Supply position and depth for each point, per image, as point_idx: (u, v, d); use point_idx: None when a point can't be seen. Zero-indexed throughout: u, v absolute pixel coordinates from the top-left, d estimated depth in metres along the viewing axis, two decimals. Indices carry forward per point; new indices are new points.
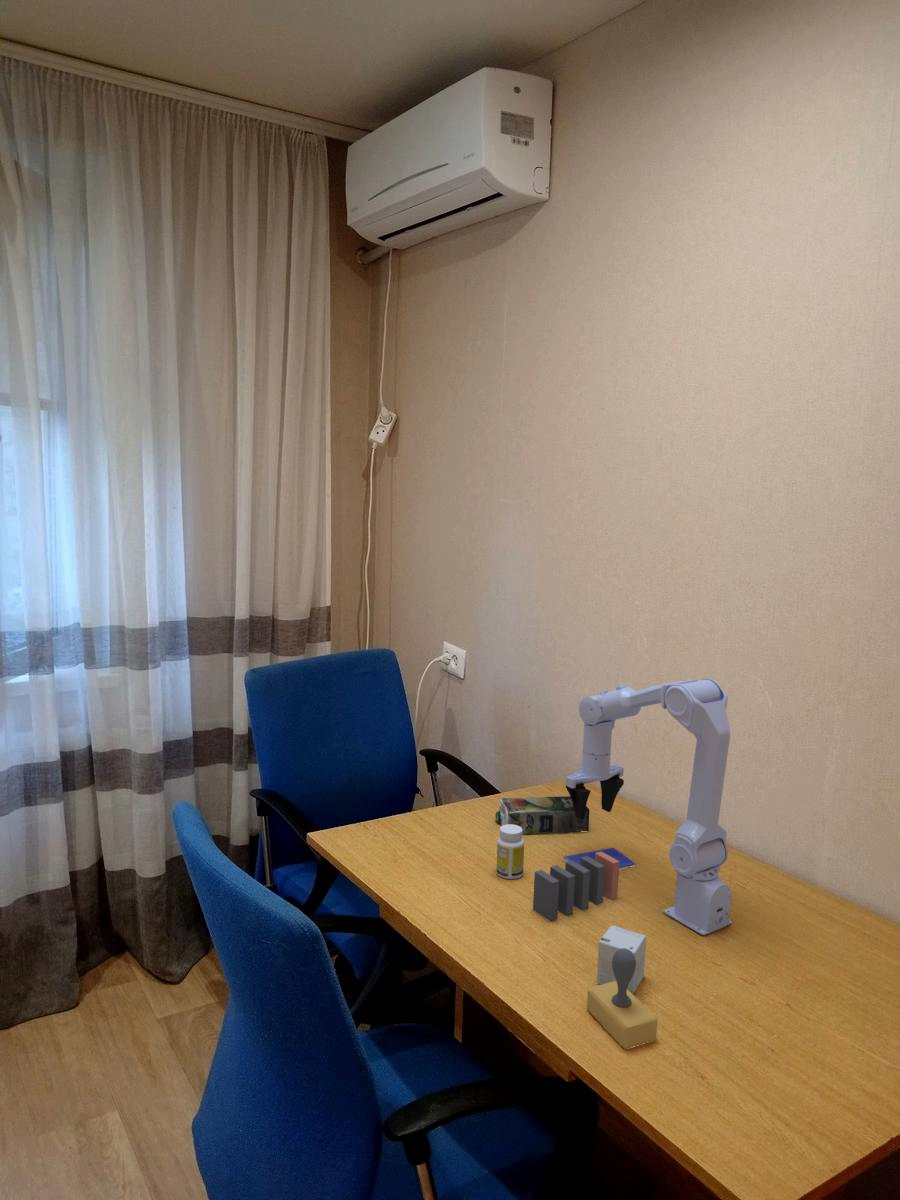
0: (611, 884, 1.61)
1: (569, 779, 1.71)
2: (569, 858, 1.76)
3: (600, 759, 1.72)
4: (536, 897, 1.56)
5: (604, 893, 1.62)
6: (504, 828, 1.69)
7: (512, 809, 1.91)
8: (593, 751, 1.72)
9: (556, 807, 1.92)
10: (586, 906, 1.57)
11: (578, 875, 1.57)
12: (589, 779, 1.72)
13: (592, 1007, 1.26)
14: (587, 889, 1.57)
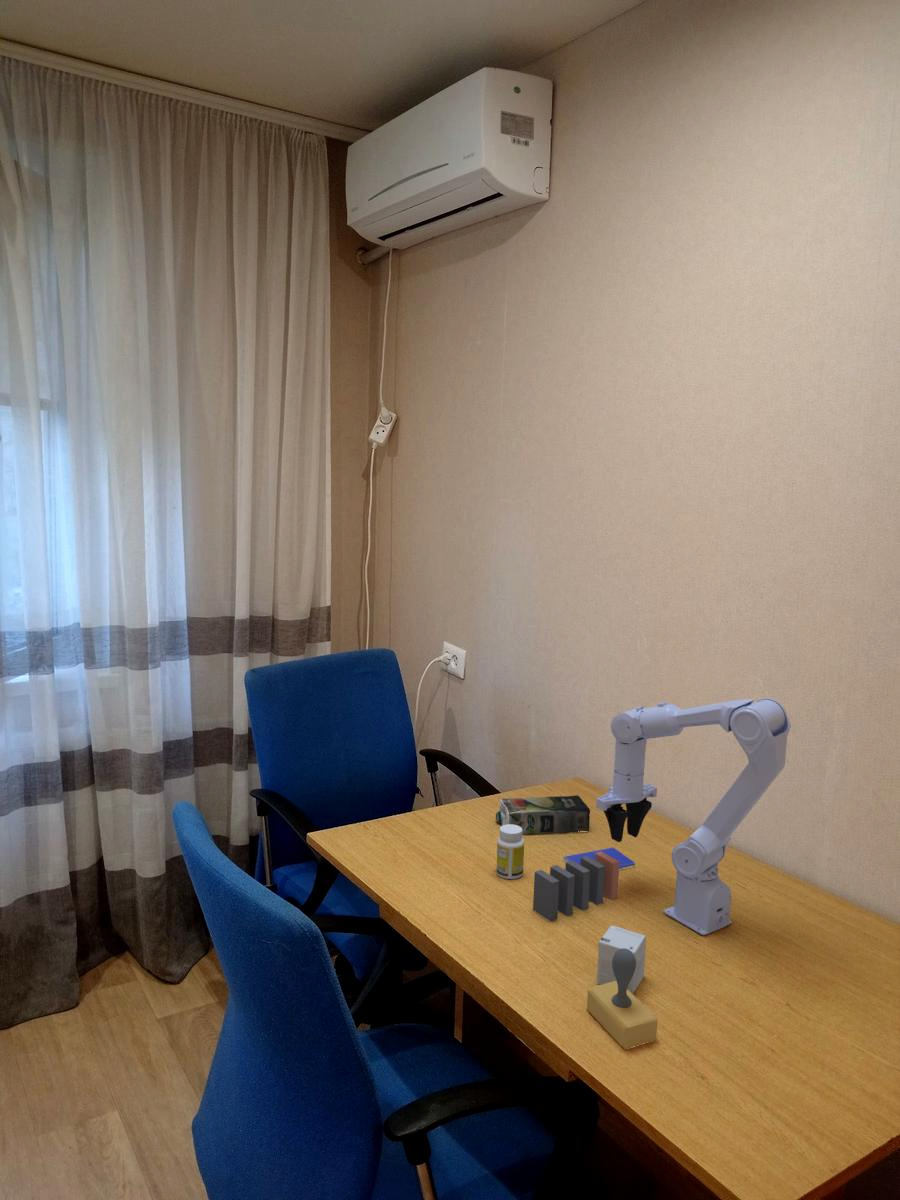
0: (611, 884, 1.61)
1: (600, 801, 1.59)
2: (569, 858, 1.76)
3: (633, 779, 1.60)
4: (536, 897, 1.56)
5: (604, 893, 1.62)
6: (504, 828, 1.69)
7: (513, 809, 1.90)
8: (629, 771, 1.60)
9: (557, 807, 1.92)
10: (586, 906, 1.57)
11: (578, 875, 1.57)
12: (621, 801, 1.60)
13: (592, 1007, 1.26)
14: (587, 889, 1.57)
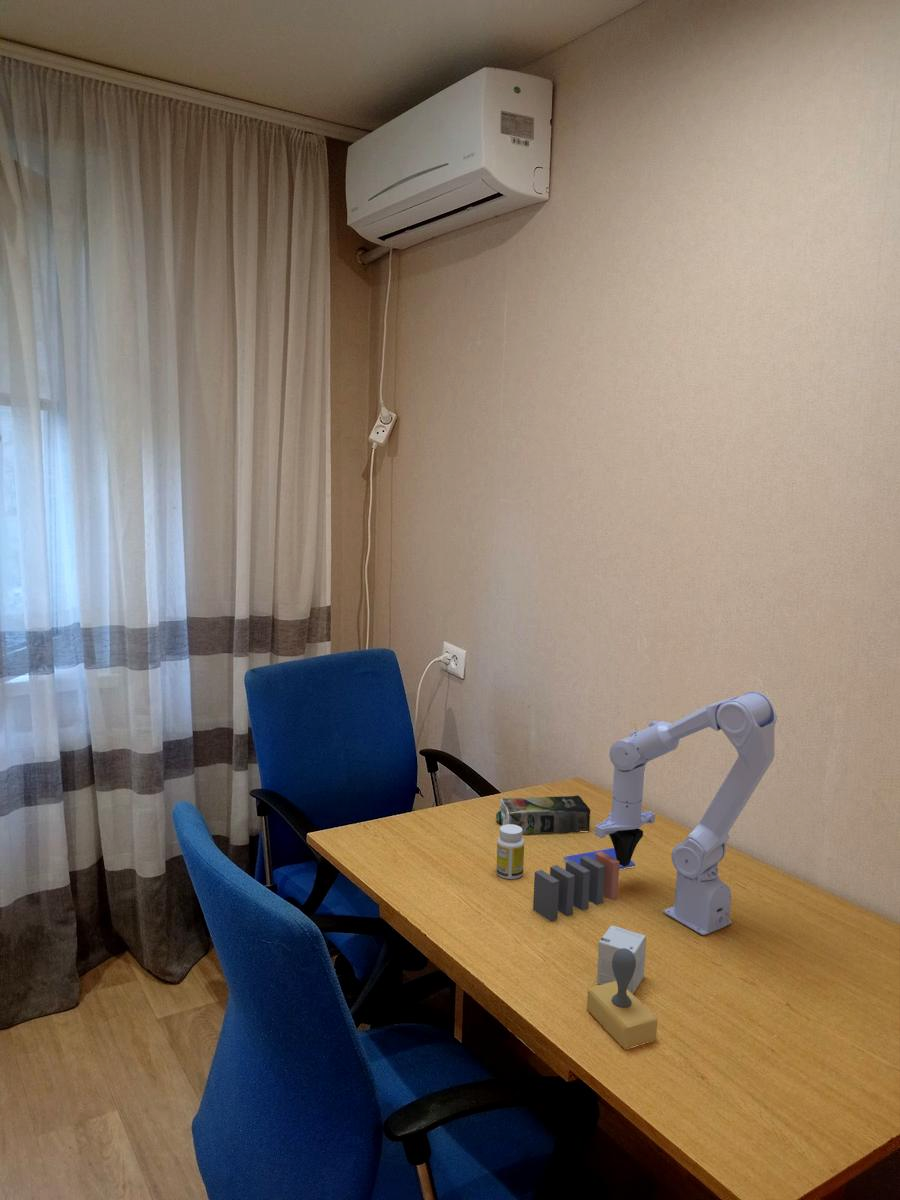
0: (611, 884, 1.61)
1: (598, 828, 1.60)
2: (569, 858, 1.76)
3: (631, 807, 1.61)
4: (536, 897, 1.56)
5: (604, 893, 1.62)
6: (504, 828, 1.69)
7: (513, 809, 1.91)
8: (627, 798, 1.60)
9: (557, 807, 1.92)
10: (586, 906, 1.57)
11: (578, 875, 1.57)
12: (620, 828, 1.60)
13: (592, 1007, 1.26)
14: (587, 889, 1.57)
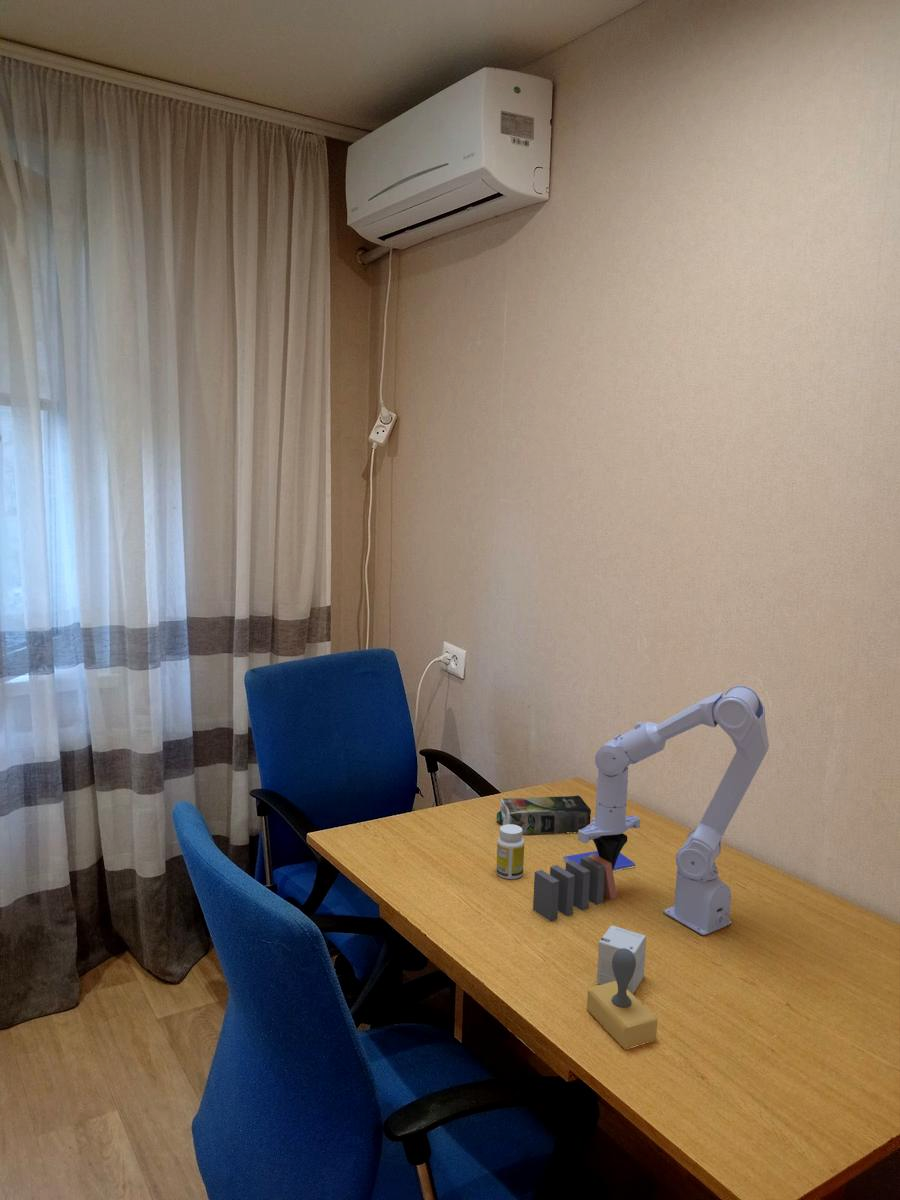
0: (608, 886, 1.60)
1: (581, 833, 1.58)
2: (569, 858, 1.76)
3: (615, 811, 1.58)
4: (536, 897, 1.56)
5: (603, 893, 1.62)
6: (504, 828, 1.69)
7: (513, 809, 1.90)
8: (615, 803, 1.58)
9: (557, 807, 1.92)
10: (586, 906, 1.57)
11: (578, 875, 1.57)
12: (603, 833, 1.58)
13: (592, 1007, 1.26)
14: (587, 889, 1.57)
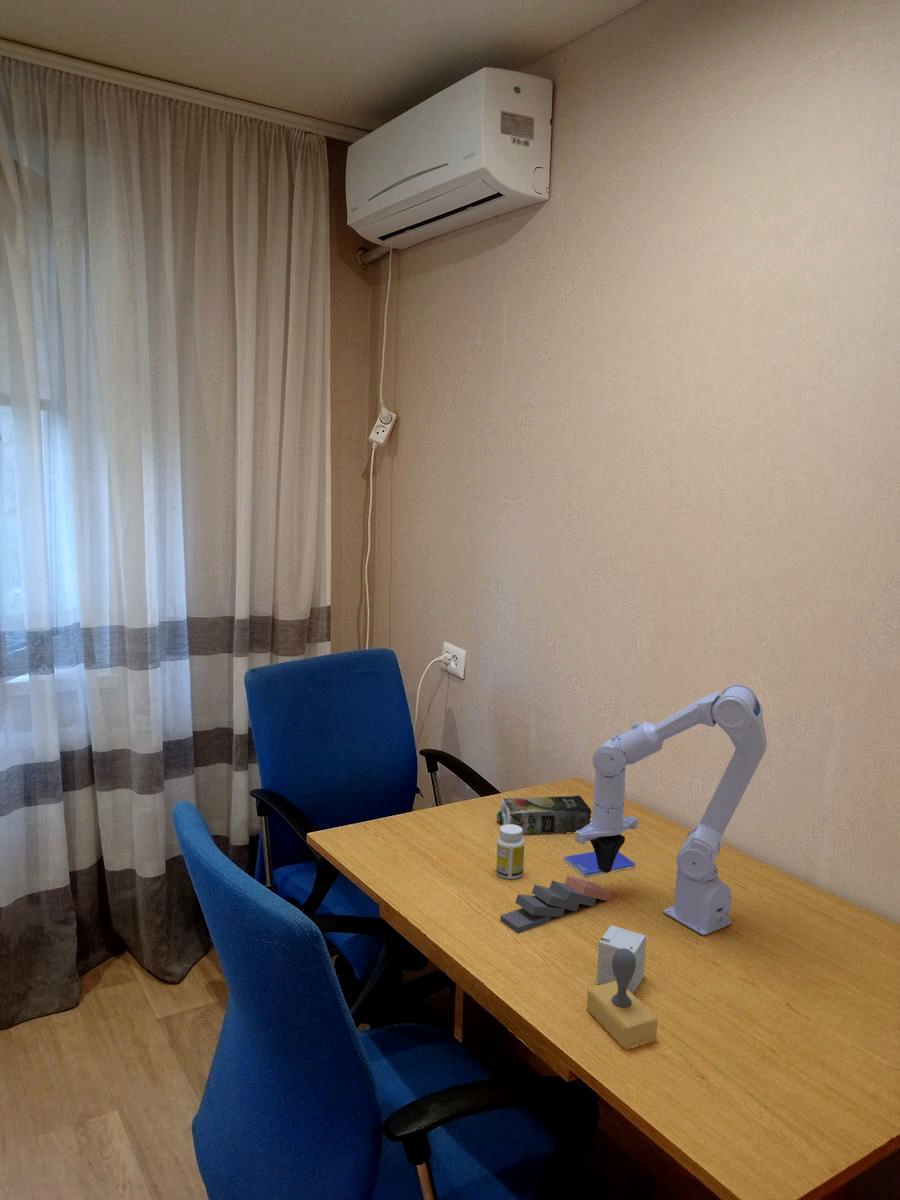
0: None
1: (579, 834, 1.57)
2: (569, 858, 1.76)
3: (613, 812, 1.58)
4: None
5: None
6: (504, 828, 1.69)
7: (514, 809, 1.91)
8: (613, 804, 1.58)
9: (558, 807, 1.92)
10: (576, 904, 1.56)
11: None
12: (601, 834, 1.58)
13: (592, 1007, 1.26)
14: (564, 901, 1.54)
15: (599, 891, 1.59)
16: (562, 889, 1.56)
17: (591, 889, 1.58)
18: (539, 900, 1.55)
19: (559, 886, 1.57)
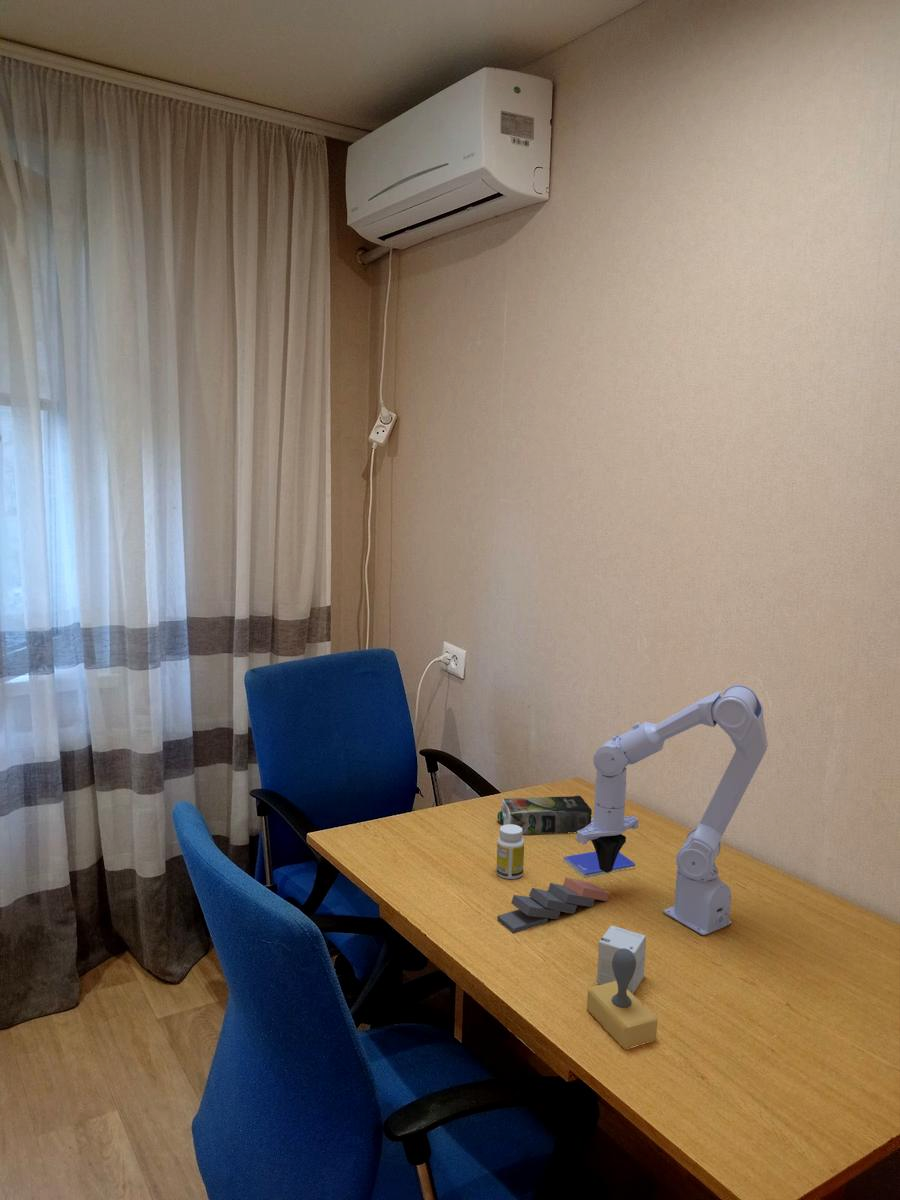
0: (595, 898, 1.59)
1: (580, 834, 1.57)
2: (569, 858, 1.76)
3: (614, 812, 1.58)
4: None
5: None
6: (504, 828, 1.69)
7: (514, 809, 1.91)
8: (613, 804, 1.58)
9: (558, 807, 1.92)
10: (574, 907, 1.55)
11: None
12: (602, 834, 1.58)
13: (592, 1007, 1.26)
14: (562, 904, 1.53)
15: (598, 892, 1.59)
16: (561, 891, 1.55)
17: (590, 890, 1.57)
18: (535, 901, 1.54)
19: (557, 888, 1.56)
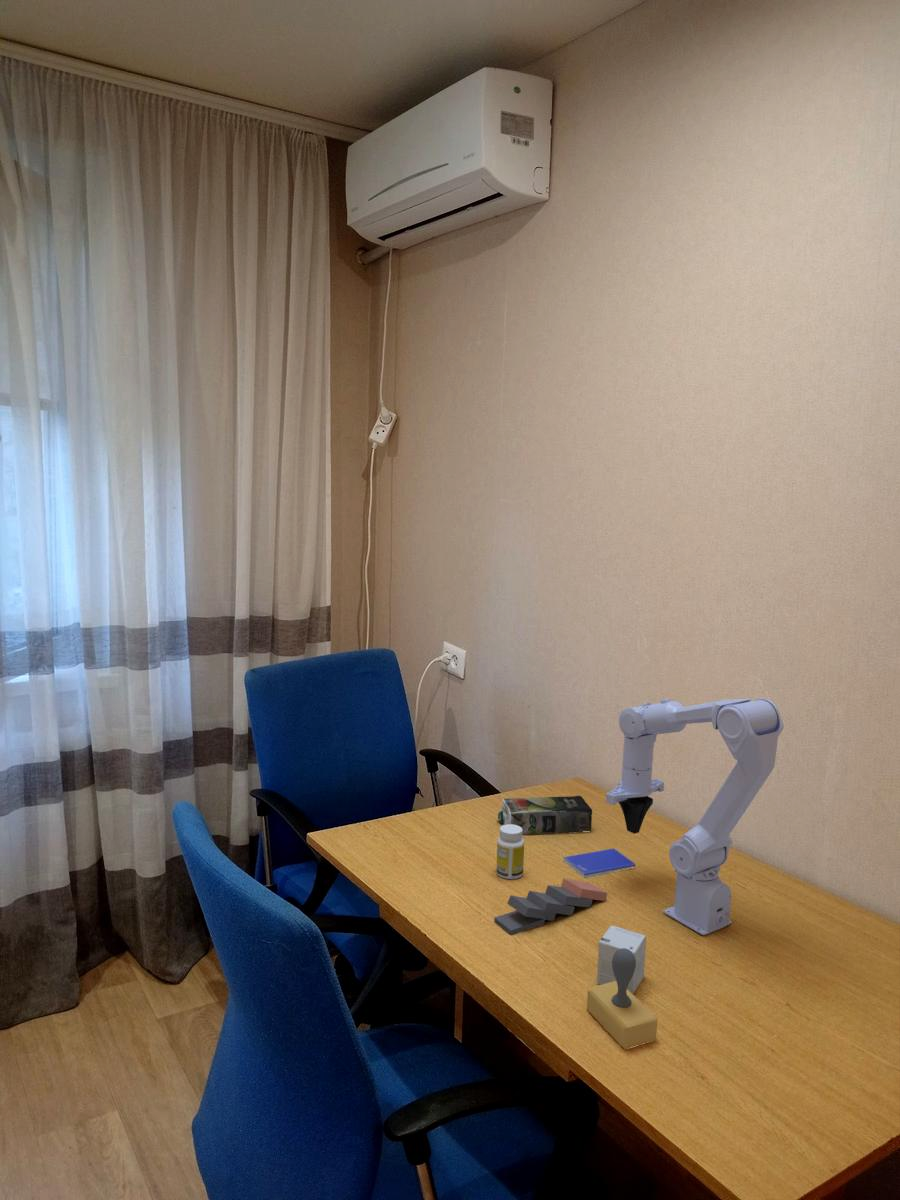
0: (593, 898, 1.59)
1: (609, 795, 1.62)
2: (569, 859, 1.76)
3: (642, 774, 1.63)
4: None
5: None
6: (504, 828, 1.69)
7: (515, 809, 1.91)
8: (634, 766, 1.63)
9: (559, 807, 1.92)
10: (572, 909, 1.55)
11: None
12: (630, 795, 1.62)
13: (592, 1007, 1.26)
14: (560, 907, 1.53)
15: (596, 892, 1.59)
16: (558, 894, 1.55)
17: (588, 891, 1.57)
18: (531, 902, 1.53)
19: (555, 891, 1.56)
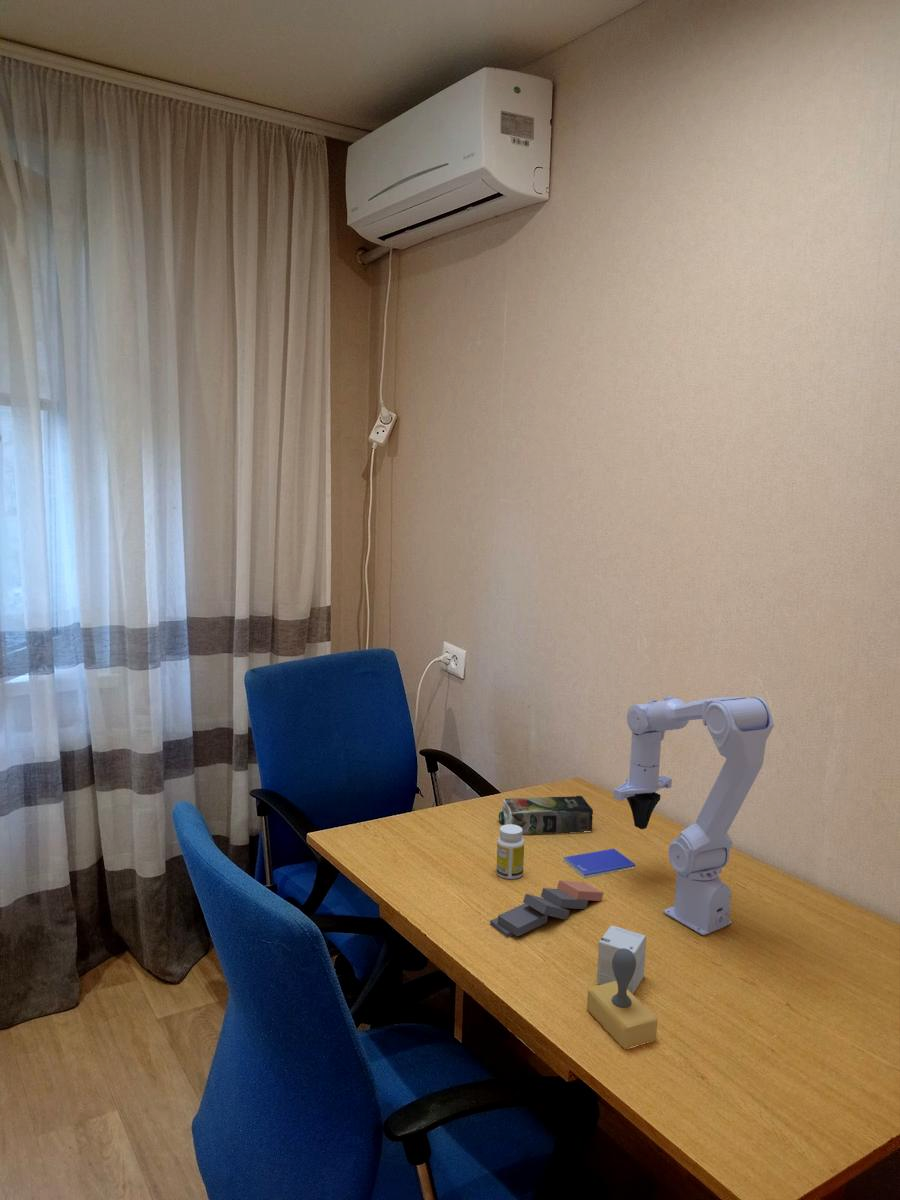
0: (590, 899, 1.59)
1: (617, 791, 1.64)
2: (569, 859, 1.75)
3: (649, 770, 1.65)
4: None
5: None
6: (504, 828, 1.69)
7: (515, 809, 1.91)
8: (639, 761, 1.65)
9: (559, 807, 1.92)
10: (567, 913, 1.53)
11: None
12: (638, 791, 1.65)
13: (592, 1007, 1.26)
14: (557, 910, 1.51)
15: (592, 893, 1.58)
16: (554, 897, 1.54)
17: (584, 892, 1.57)
18: (520, 914, 1.50)
19: (551, 894, 1.55)
